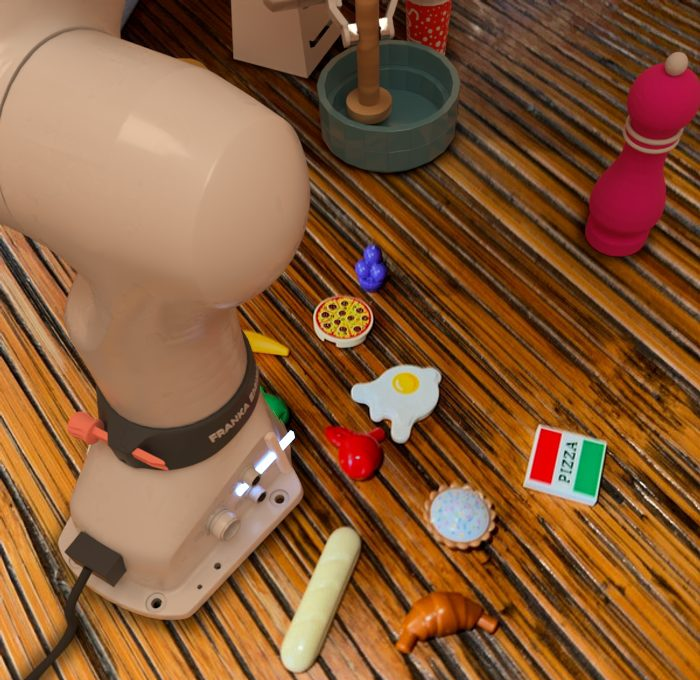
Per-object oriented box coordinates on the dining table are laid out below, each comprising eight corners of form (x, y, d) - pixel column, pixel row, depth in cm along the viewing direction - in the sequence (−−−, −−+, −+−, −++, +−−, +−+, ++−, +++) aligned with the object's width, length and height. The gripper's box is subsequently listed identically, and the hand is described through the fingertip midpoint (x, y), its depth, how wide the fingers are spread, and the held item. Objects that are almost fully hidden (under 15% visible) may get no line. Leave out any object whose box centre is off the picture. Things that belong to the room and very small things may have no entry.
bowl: (418, 194, 84) (420, 148, 78) (297, 151, 88) (291, 105, 82) (477, 109, 90) (483, 62, 85) (361, 73, 94) (359, 26, 89)
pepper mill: (649, 265, 78) (727, 86, 60) (577, 256, 78) (633, 78, 61) (651, 214, 81) (725, 30, 63) (581, 206, 82) (635, 23, 64)
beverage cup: (398, 45, 96) (400, -77, 84) (446, 40, 96) (455, -83, 84) (405, 75, 93) (408, -46, 81) (454, 70, 93) (465, -52, 81)
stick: (378, 129, 86) (377, -7, 72) (338, 116, 87) (330, -20, 74) (399, 102, 88) (402, -35, 75) (360, 89, 89) (355, -48, 76)
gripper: (240, -108, 72) (273, 52, 76) (448, -143, 73) (470, 15, 77) (240, -80, 78) (271, 67, 82) (432, -113, 79) (453, 32, 83)
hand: (369, 42), depth 80 cm, fingers closed on stick, 2 cm apart
